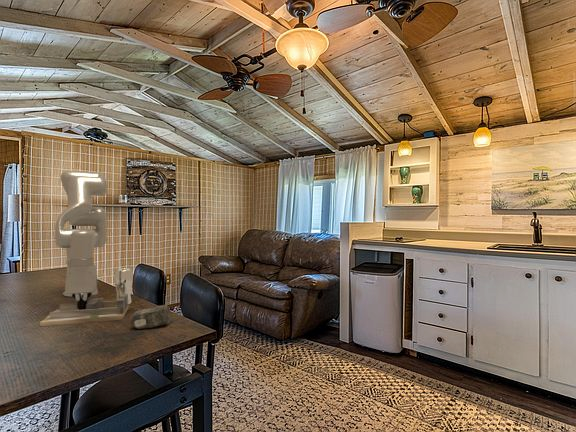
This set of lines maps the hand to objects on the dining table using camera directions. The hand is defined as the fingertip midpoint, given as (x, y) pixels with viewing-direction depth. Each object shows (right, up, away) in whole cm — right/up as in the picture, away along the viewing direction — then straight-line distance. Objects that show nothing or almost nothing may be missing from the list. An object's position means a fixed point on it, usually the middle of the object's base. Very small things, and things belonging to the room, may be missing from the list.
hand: (82, 310), depth 126 cm
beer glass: (+7, -2, +18) cm, 19 cm away
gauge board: (+2, -3, +1) cm, 3 cm away
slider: (+5, -1, -1) cm, 5 cm away
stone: (+31, -3, -9) cm, 32 cm away
